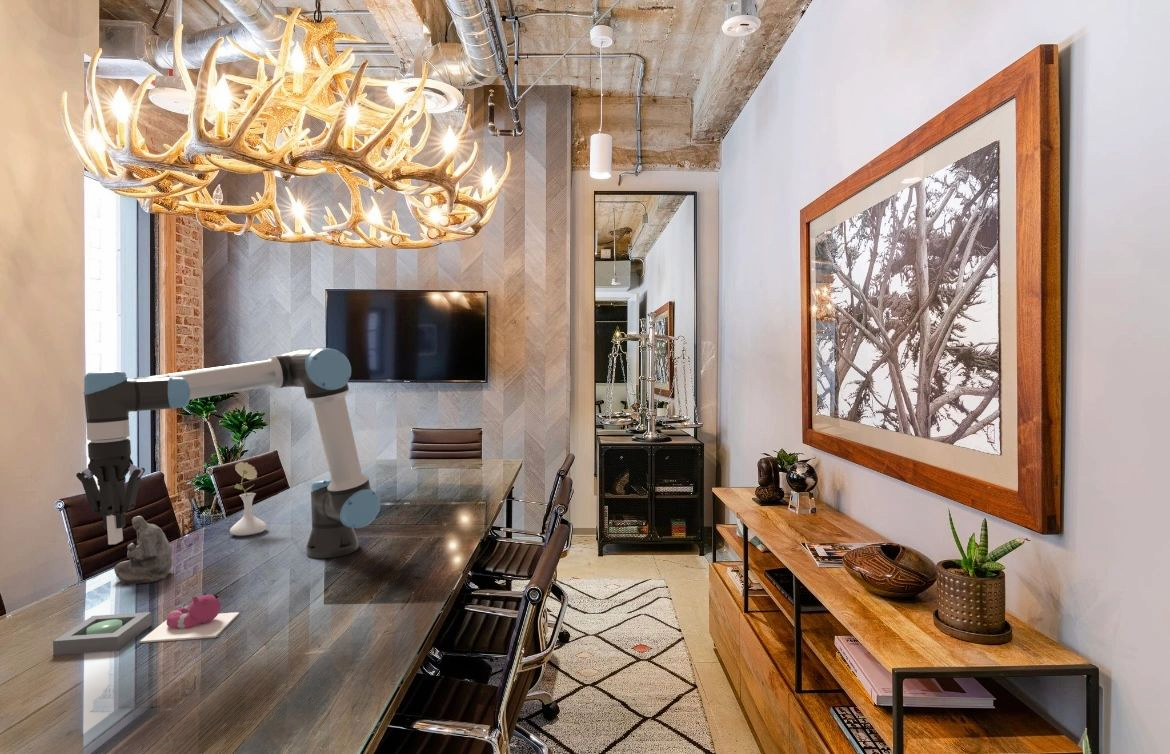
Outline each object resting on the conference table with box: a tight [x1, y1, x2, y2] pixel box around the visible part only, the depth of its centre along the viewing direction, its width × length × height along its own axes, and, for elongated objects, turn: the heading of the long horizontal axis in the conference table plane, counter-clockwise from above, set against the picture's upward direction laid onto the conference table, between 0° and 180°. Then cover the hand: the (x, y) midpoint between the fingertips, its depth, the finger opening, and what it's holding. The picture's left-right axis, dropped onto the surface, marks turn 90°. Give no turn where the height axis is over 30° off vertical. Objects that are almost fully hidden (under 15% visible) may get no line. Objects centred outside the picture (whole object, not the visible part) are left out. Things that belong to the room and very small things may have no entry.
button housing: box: [52, 611, 152, 656], centre depth 128 cm, size 12×12×3 cm
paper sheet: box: [139, 611, 240, 644], centre depth 133 cm, size 15×12×1 cm
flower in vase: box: [229, 461, 268, 537], centre depth 205 cm, size 13×11×25 cm
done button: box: [87, 619, 122, 635], centre depth 128 cm, size 6×6×3 cm
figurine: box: [114, 515, 173, 586], centre depth 164 cm, size 13×12×18 cm
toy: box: [166, 593, 222, 629], centre depth 135 cm, size 11×9×10 cm
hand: (115, 542), depth 134 cm, fingers closed
